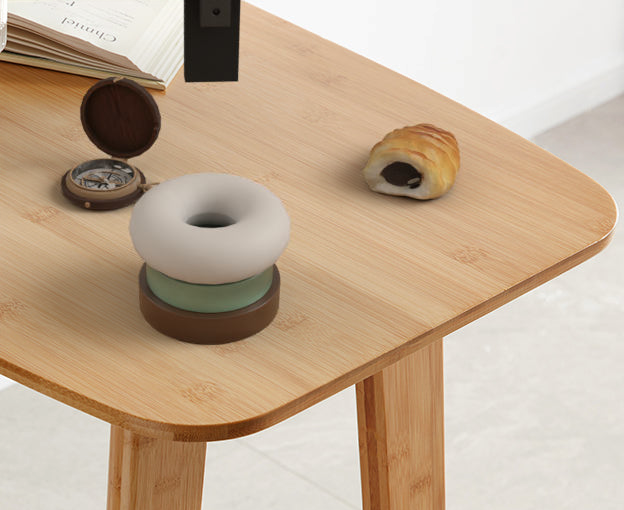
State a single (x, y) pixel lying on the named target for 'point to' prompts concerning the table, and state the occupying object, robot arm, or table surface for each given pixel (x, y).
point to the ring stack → (209, 305)
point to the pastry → (414, 162)
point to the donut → (210, 241)
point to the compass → (113, 144)
